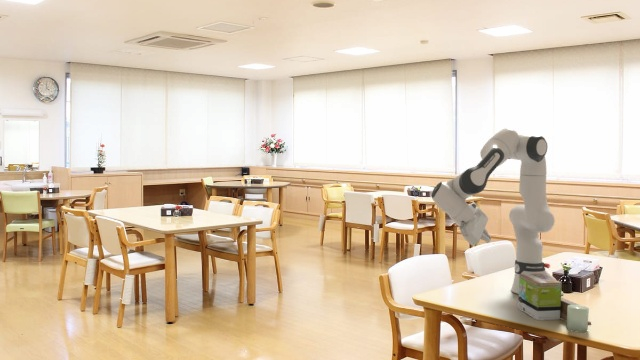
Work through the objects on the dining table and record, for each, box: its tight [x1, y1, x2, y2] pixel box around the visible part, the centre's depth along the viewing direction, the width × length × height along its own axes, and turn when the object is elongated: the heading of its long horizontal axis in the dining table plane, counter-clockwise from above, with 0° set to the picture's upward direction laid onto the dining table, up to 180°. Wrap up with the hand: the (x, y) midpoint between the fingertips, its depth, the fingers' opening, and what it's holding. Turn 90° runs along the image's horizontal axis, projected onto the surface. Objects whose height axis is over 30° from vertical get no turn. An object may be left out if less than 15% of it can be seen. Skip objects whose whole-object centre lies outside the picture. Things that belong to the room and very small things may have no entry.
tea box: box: [517, 273, 563, 321], centre depth 228 cm, size 15×10×15 cm
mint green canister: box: [566, 304, 590, 333], centre depth 211 cm, size 7×7×8 cm
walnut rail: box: [560, 296, 592, 325], centre depth 228 cm, size 7×24×7 cm, turn 13°
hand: (489, 240), depth 232 cm, fingers closed
